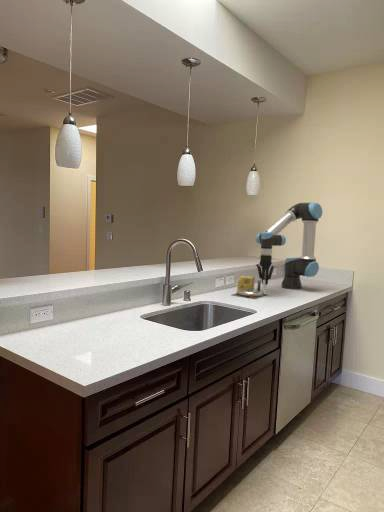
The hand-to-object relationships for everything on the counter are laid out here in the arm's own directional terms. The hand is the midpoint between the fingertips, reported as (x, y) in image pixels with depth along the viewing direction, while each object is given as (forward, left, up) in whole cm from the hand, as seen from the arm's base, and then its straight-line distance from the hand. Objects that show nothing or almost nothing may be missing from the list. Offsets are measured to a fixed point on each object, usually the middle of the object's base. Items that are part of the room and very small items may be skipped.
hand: (264, 289), depth 264 cm
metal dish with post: (+7, -7, -4) cm, 11 cm away
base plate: (+7, -7, -4) cm, 11 cm away
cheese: (-8, -18, -5) cm, 21 cm away
